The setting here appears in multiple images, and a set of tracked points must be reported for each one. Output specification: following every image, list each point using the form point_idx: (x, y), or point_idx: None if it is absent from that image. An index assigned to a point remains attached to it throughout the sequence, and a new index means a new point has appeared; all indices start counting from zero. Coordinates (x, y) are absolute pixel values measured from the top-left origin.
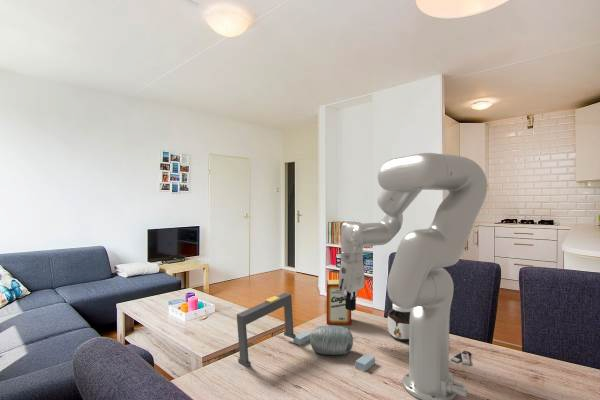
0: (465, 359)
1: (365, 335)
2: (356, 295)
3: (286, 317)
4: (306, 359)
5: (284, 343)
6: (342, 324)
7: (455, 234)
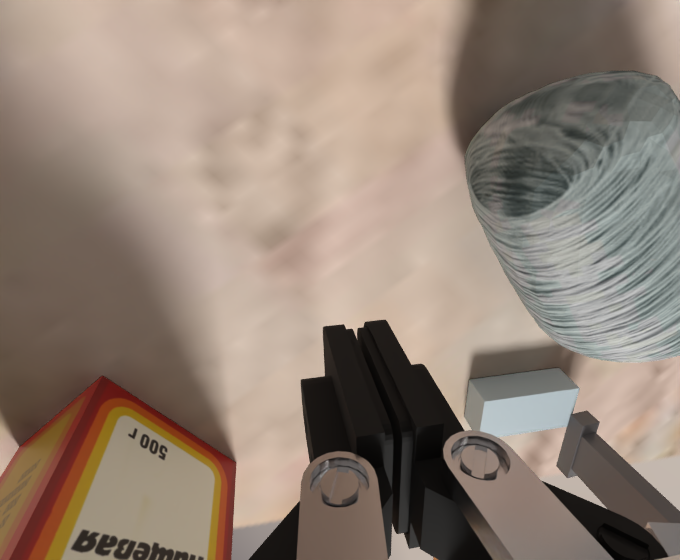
0: None
1: (164, 196)
2: (314, 500)
3: None
4: None
5: None
6: (155, 410)
7: None
